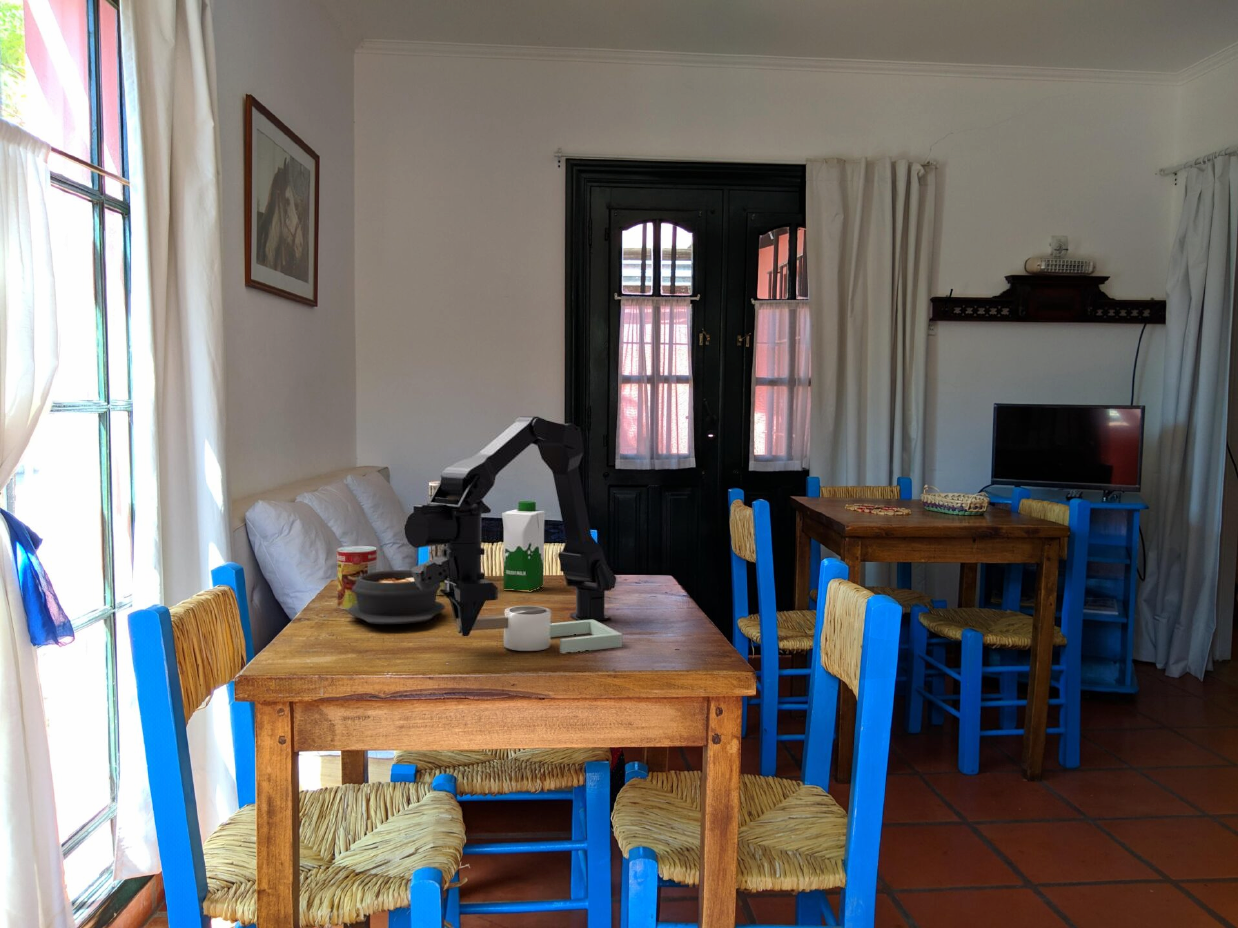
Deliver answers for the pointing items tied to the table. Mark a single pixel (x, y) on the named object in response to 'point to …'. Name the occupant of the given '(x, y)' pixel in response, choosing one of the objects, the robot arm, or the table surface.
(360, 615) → the casserole
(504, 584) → the milk carton
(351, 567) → the canned food
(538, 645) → the saucepan
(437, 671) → the table surface
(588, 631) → the u-shaped frame
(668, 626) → the table surface
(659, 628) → the table surface
